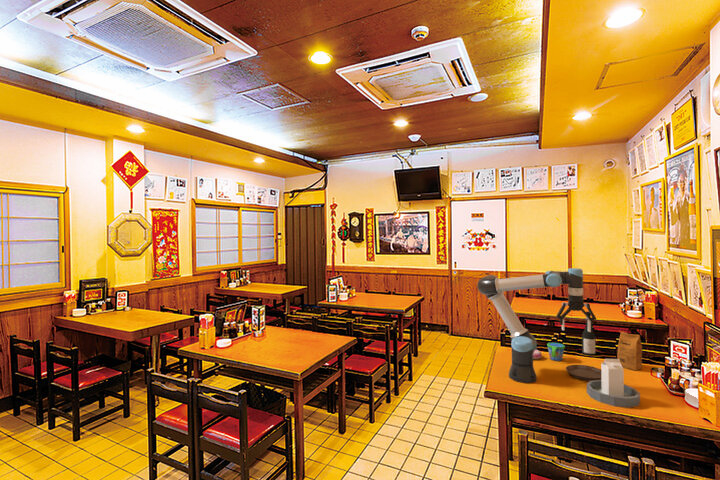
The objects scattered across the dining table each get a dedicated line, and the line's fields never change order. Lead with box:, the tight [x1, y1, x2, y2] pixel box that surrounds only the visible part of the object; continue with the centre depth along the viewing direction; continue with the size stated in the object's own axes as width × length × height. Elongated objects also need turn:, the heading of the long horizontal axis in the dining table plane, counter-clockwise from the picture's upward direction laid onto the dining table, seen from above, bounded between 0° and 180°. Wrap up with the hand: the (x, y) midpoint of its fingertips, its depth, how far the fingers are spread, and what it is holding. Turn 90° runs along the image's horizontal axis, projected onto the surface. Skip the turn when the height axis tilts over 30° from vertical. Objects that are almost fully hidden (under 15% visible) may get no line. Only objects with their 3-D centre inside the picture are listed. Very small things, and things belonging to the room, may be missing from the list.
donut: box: [533, 349, 543, 360], centre depth 250 cm, size 14×13×5 cm
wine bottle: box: [581, 311, 596, 356], centre depth 254 cm, size 8×8×30 cm
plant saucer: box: [565, 364, 601, 382], centre depth 215 cm, size 21×21×3 cm
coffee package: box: [616, 331, 643, 371], centre depth 228 cm, size 10×12×22 cm
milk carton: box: [600, 358, 625, 397], centre depth 187 cm, size 7×7×19 cm
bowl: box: [586, 380, 641, 408], centre depth 186 cm, size 22×22×4 cm
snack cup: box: [547, 342, 566, 362], centre depth 244 cm, size 16×11×10 cm
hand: (576, 330), depth 210 cm, fingers open, 13 cm apart
